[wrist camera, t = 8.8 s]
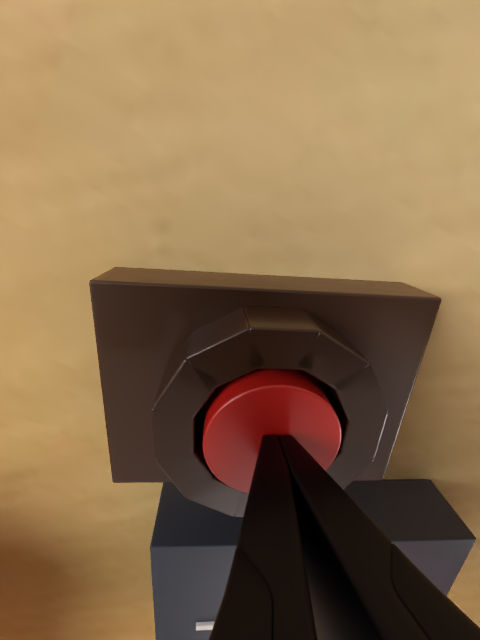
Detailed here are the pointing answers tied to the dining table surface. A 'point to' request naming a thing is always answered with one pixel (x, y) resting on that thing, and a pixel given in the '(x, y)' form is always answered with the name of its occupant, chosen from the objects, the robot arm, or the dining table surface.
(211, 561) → the control panel
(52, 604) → the dining table surface
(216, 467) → the button
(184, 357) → the button block
